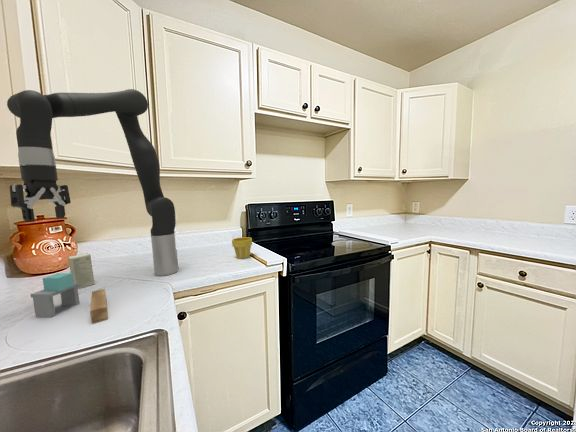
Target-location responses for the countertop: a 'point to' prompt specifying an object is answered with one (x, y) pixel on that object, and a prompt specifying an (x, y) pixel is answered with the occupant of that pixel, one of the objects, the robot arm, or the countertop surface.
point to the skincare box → (81, 270)
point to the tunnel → (45, 300)
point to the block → (58, 282)
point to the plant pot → (242, 247)
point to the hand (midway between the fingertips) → (46, 220)
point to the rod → (98, 306)
